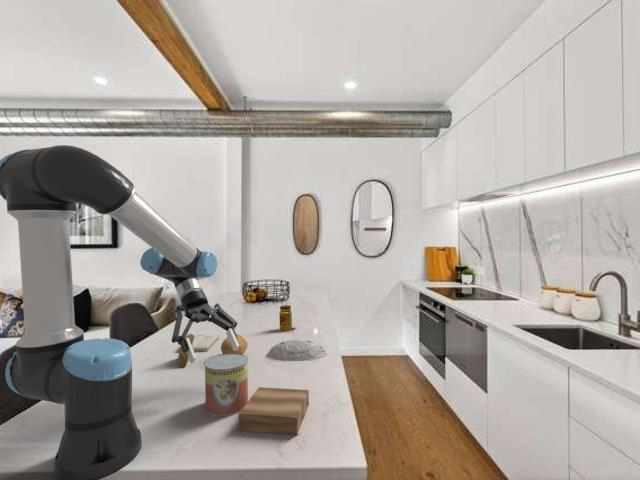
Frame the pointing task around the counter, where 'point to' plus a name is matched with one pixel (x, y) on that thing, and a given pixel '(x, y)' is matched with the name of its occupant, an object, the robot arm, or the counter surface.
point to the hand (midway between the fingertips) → (216, 354)
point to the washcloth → (204, 342)
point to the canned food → (226, 384)
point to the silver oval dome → (297, 351)
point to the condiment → (285, 319)
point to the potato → (228, 349)
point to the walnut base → (274, 411)
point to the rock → (184, 353)
